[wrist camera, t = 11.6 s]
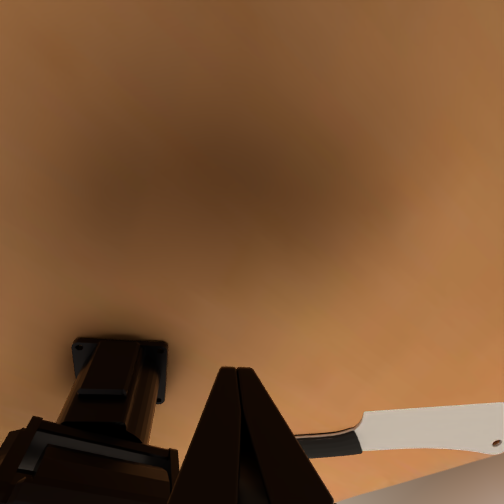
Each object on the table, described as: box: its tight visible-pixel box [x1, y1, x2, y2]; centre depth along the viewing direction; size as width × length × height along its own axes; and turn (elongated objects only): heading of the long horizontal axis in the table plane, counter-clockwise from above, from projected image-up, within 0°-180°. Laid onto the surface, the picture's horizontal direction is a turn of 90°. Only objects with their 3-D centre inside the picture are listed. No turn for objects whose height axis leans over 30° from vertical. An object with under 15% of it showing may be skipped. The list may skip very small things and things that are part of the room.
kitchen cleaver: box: [294, 402, 504, 459], centre depth 31 cm, size 31×2×10 cm
